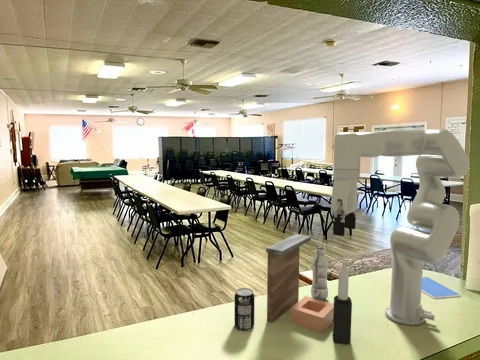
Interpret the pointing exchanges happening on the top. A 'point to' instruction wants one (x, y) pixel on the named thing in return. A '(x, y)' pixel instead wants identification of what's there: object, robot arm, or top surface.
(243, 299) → the beverage can
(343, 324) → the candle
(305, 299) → the socket block
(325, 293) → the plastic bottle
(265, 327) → the top surface
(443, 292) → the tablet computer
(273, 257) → the brown board grey top
